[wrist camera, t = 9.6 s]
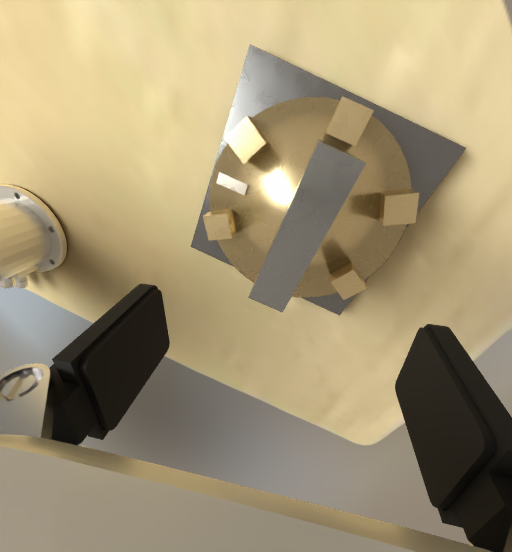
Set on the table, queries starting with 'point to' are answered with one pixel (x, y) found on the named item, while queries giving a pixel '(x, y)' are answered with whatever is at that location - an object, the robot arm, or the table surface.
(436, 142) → the base plate
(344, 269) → the round hub with lugs
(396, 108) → the table surface
